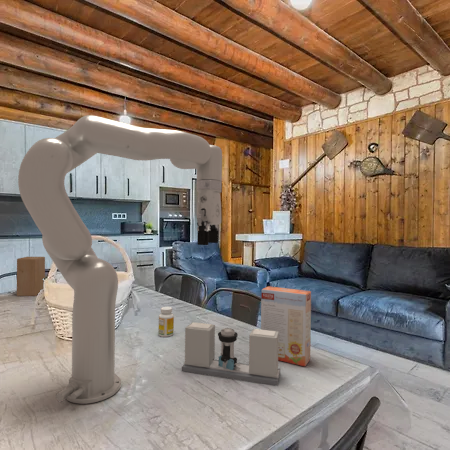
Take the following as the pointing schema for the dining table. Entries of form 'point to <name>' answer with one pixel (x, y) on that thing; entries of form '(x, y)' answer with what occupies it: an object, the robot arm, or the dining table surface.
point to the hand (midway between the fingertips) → (208, 243)
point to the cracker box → (288, 322)
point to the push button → (228, 349)
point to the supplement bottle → (166, 322)
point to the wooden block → (30, 275)
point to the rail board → (253, 372)
